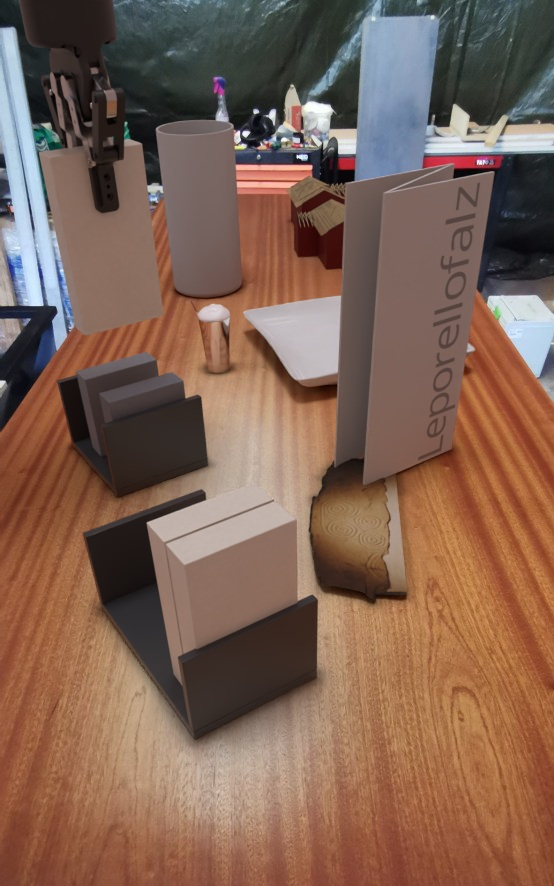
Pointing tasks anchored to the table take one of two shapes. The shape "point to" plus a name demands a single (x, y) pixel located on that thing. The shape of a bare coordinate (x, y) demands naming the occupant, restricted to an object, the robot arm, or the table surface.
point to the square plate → (305, 337)
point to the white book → (104, 241)
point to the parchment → (358, 532)
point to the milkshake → (215, 336)
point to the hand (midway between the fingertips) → (100, 206)
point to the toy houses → (318, 220)
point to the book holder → (209, 601)
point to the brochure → (406, 313)
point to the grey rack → (134, 423)
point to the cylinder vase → (201, 206)
